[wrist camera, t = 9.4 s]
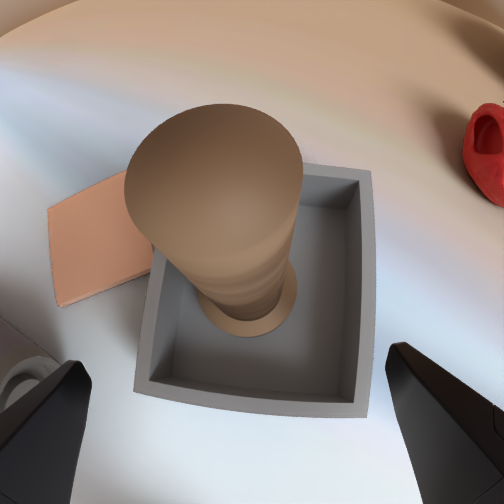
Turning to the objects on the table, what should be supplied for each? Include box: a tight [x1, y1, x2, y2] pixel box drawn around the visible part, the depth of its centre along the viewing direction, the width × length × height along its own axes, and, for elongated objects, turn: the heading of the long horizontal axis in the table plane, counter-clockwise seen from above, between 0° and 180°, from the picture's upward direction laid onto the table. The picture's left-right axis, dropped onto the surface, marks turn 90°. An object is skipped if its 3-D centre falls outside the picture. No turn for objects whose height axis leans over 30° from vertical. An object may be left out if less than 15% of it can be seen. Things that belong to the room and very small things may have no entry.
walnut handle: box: [124, 104, 303, 338], centre depth 13 cm, size 6×6×14 cm
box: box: [133, 163, 376, 418], centre depth 18 cm, size 14×12×5 cm
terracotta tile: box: [48, 170, 155, 307], centre depth 22 cm, size 9×9×1 cm
